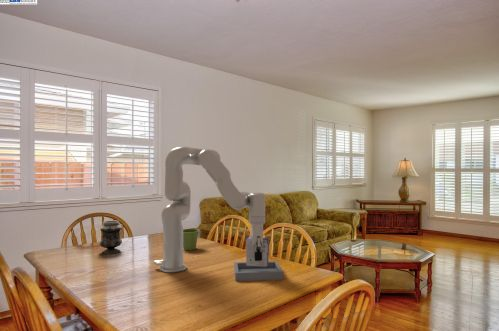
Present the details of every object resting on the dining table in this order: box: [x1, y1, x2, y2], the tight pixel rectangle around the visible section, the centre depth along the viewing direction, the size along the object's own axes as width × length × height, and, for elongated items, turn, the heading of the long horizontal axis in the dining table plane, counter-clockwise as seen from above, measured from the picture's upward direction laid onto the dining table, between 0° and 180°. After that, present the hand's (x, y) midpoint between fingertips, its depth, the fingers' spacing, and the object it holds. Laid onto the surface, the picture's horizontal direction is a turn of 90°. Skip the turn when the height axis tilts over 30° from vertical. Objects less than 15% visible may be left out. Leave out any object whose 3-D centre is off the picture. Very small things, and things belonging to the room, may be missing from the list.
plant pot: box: [183, 228, 200, 251], centre depth 201 cm, size 12×12×11 cm
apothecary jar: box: [99, 220, 123, 255], centre depth 195 cm, size 12×12×18 cm
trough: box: [233, 260, 284, 282], centre depth 154 cm, size 21×16×4 cm
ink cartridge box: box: [245, 237, 270, 267], centre depth 154 cm, size 10×6×14 cm, turn 79°
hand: (257, 258), depth 154 cm, fingers closed on ink cartridge box, 6 cm apart
